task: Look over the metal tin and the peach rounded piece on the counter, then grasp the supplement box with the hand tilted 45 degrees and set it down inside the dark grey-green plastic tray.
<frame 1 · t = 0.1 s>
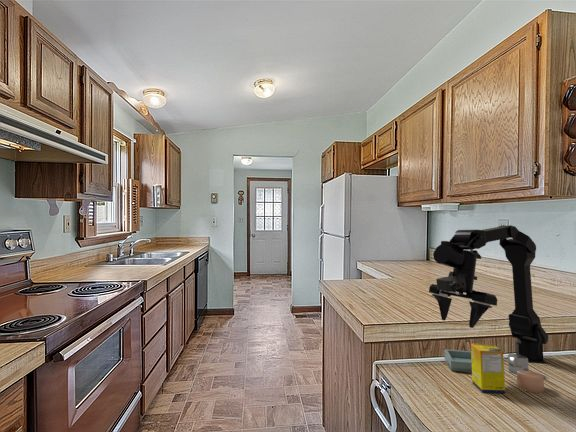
hand: (456, 323, 97), 15 cm above the countertop, tool pointing down, fingers open, 9 cm apart
tray: (466, 366, 105), on the countertop
supplement box: (488, 388, 90), on the countertop
peach rounded piece: (530, 388, 90), on the countertop
tin: (518, 372, 101), on the countertop
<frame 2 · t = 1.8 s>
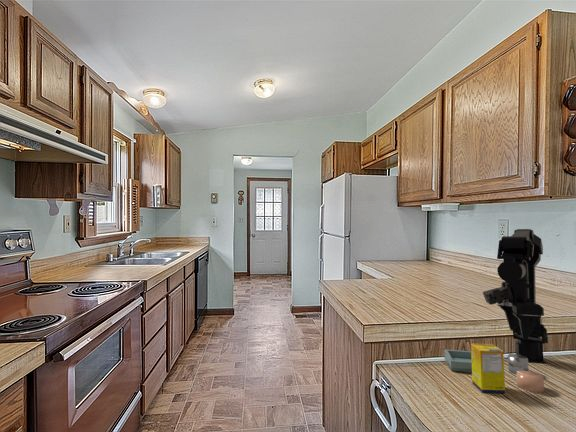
hand: (518, 334, 96), 13 cm above the countertop, tool pointing down, fingers open, 9 cm apart
nothing on the countertop moved.
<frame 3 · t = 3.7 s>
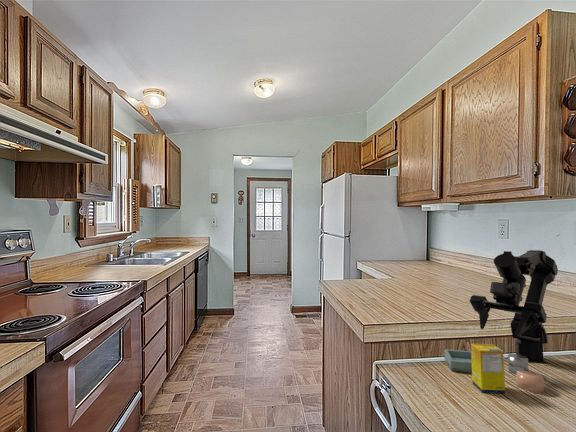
hand: (498, 332, 96), 13 cm above the countertop, tool tilted 45°, fingers open, 9 cm apart
nothing on the countertop moved.
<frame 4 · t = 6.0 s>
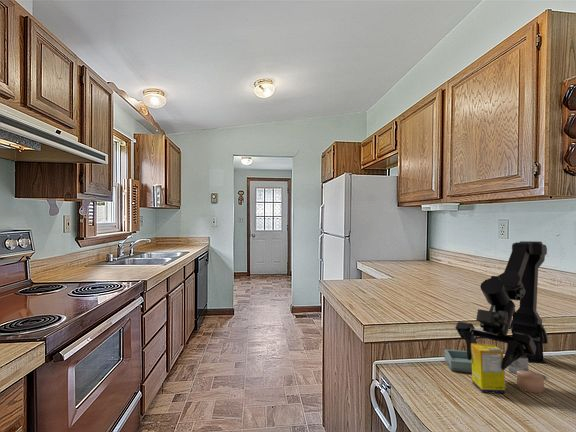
hand: (484, 364, 90), 7 cm above the countertop, tool tilted 45°, fingers closed on supplement box, 8 cm apart
supplement box: (488, 388, 90), on the countertop, touching gripper
everything else where it was.
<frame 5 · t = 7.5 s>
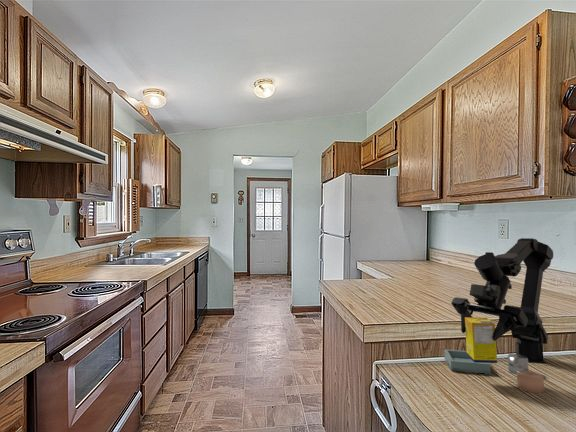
hand: (477, 335, 93), 13 cm above the countertop, tool tilted 45°, fingers closed on supplement box, 8 cm apart
supplement box: (481, 360, 94), point 6 cm above the countertop, touching gripper
everything else where it was.
when the fingers open (9 cm above the countertop, at t = 9.5 s): supplement box drops 1 cm, resting on tray.
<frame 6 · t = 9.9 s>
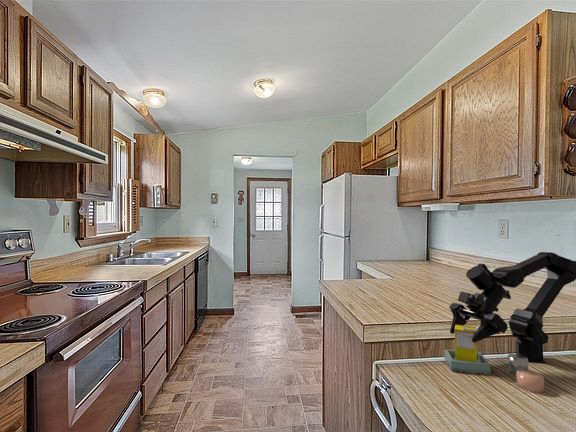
hand: (461, 337, 105), 9 cm above the countertop, tool tilted 45°, fingers open, 9 cm apart
supplement box: (466, 363, 105), point 1 cm above the countertop, touching tray
everything else where it was.
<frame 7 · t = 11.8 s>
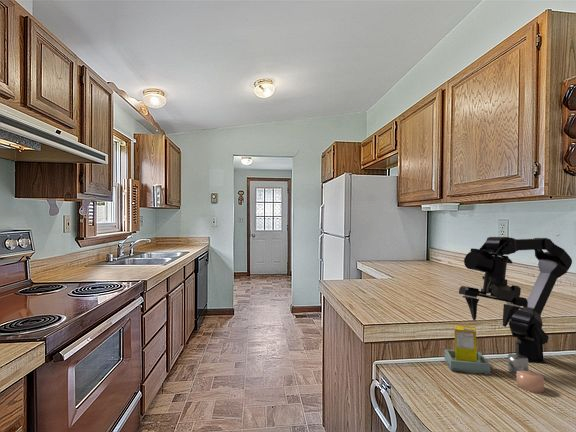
hand: (489, 323, 107), 13 cm above the countertop, tool pointing down, fingers open, 9 cm apart
nothing on the countertop moved.
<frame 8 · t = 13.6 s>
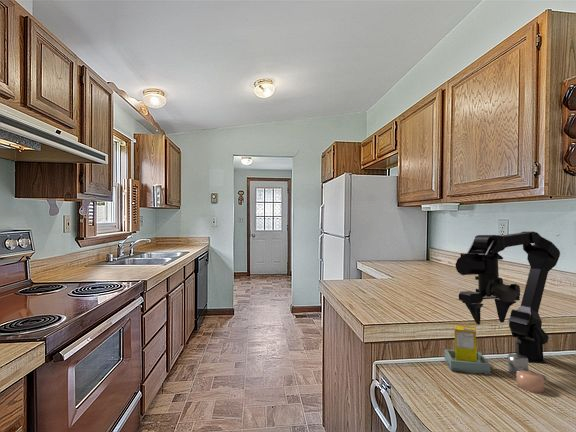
hand: (490, 323, 107), 13 cm above the countertop, tool pointing down, fingers open, 9 cm apart
nothing on the countertop moved.
at the end: supplement box inside the target area on the tray (0.2 cm from its centre), point 0.8 cm above the tray's base; supplement box tilted 0°; the gripper is holding nothing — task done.
